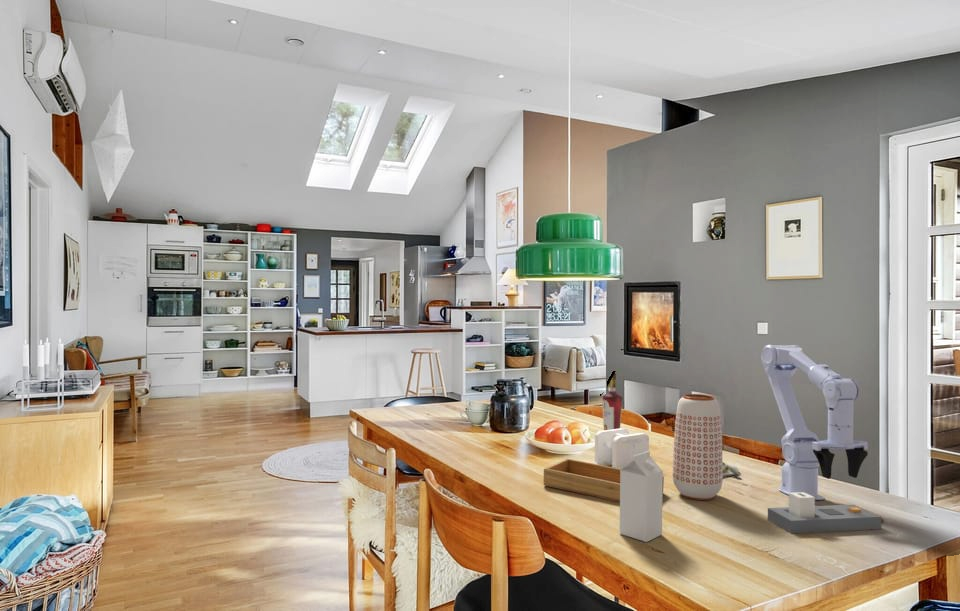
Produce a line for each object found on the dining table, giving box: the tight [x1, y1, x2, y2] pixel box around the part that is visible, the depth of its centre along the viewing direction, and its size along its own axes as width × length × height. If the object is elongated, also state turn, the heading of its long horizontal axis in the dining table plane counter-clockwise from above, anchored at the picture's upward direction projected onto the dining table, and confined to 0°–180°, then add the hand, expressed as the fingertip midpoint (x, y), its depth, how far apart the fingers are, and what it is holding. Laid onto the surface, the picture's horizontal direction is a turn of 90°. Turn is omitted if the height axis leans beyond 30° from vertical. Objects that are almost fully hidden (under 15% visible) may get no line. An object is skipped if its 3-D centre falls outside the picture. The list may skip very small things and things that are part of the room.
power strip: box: [767, 504, 884, 534], centre depth 150 cm, size 28×9×4 cm, turn 98°
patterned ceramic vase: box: [672, 393, 724, 501], centre depth 172 cm, size 13×13×28 cm
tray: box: [543, 458, 665, 503], centre depth 176 cm, size 31×15×6 cm, turn 55°
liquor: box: [601, 372, 623, 431], centre depth 230 cm, size 7×7×28 cm
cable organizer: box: [594, 427, 650, 469], centre depth 201 cm, size 15×11×12 cm
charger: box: [788, 492, 816, 518], centre depth 149 cm, size 4×4×7 cm
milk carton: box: [619, 450, 664, 543], centre depth 142 cm, size 7×7×19 cm
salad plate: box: [723, 462, 740, 478], centre depth 197 cm, size 19×18×5 cm
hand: (839, 477), depth 158 cm, fingers open, 7 cm apart
